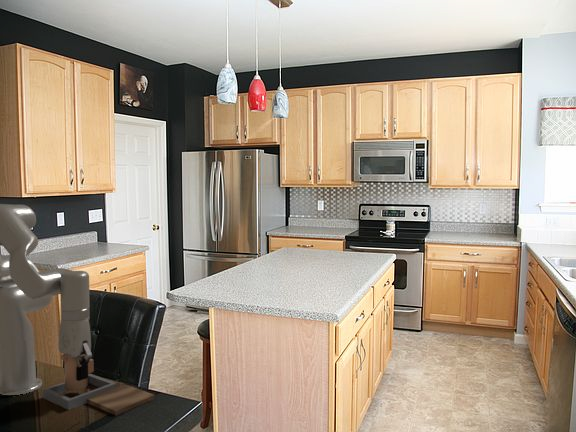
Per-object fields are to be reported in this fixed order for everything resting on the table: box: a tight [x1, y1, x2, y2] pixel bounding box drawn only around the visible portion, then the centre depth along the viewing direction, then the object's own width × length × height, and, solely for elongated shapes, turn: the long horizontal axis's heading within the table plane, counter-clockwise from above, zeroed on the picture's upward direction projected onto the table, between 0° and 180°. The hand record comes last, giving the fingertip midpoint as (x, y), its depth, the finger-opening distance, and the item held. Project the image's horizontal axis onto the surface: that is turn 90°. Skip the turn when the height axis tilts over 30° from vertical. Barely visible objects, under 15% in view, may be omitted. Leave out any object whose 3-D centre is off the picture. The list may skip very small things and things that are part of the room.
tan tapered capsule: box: [60, 352, 95, 392], centre depth 136 cm, size 6×9×10 cm, turn 143°
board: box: [86, 383, 156, 416], centre depth 130 cm, size 14×12×1 cm
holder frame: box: [42, 373, 118, 411], centre depth 135 cm, size 14×14×2 cm
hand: (76, 375), depth 135 cm, fingers closed on tan tapered capsule, 6 cm apart
